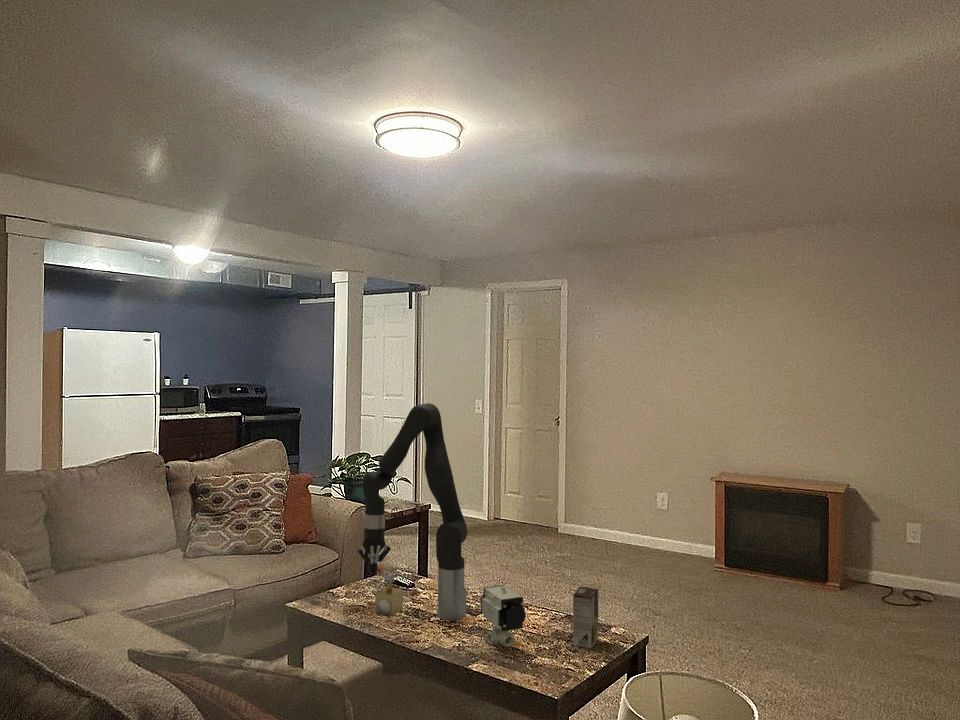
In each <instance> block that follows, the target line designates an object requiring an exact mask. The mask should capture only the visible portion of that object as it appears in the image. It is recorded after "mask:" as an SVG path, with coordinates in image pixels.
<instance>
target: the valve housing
mask: <svg viewBox="0 0 960 720" xmlns="http://www.w3.org/2000/svg"><path fill="white" fill-rule="evenodd" d="M403 602H404V590H403V589H401V588H395V587H393V582H391V583H388V582H386V586H385V587H382V589H380V590H378V591H376V592H375V606H374V607H375V609H374V610H375V613H378V614H380V615H383V616H384V615H388V616H394V615H395V614H397V613H399V612H401V610H403V608H404V607H403V606H404V605H403V604H404V603H403Z"/></svg>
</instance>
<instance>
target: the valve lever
mask: <svg viewBox="0 0 960 720" xmlns="http://www.w3.org/2000/svg"><path fill="white" fill-rule="evenodd" d="M375 574H377V575H378V576H381V577H382V578H384V582H385V583H387V582H388V583H391V582H392V583H394V582H395V573H393V572H389V571H388V570H387V568H385V567H384V566H383V565H381V564H377V572H376V573H375Z"/></svg>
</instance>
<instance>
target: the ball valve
mask: <svg viewBox="0 0 960 720" xmlns="http://www.w3.org/2000/svg"><path fill="white" fill-rule="evenodd" d="M480 613H481V614H483V618H485V619H486V620H487V621H488V622H489V623H491V624H492V625H493V626H492V628H491V630H488V631H487V634H486V639H487V642H488V644H490V645H493V646H496V645H497V646H498V645H502V646H503V647H505V648H508V647H512V646H513V645H514V642H515V637H514V634H513V633H512V632H511V631H513V630H519V629H523V628H524V623H525V620H526V610H525V608H524V597H523V596H521V595H520V594H518V593H517V592H515V591H513V590H512V589H510V588H509V587H507V586H506V585H504V584H501V585H494V586H493V585H492V586H487V587H483V594H482V596H481V597H480Z"/></svg>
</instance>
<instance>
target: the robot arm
mask: <svg viewBox="0 0 960 720" xmlns="http://www.w3.org/2000/svg"><path fill="white" fill-rule="evenodd" d="M442 424H443V423H442V417H441V412H440V410H439V408H438V407H437V406H436V405H435V404H433V403H430V402H429V403H421V404H420V403H419V404H417V405H414V406H413V407H412V408H411V409H410V411H409V413H408V414H407V416H406V418H405V419H404V423H403V424H402V426H401V428H400V429H399V432H398V433H397V435H396V436H395V438H394V440H393V441H392V443H391V444H390V446H389V447H388V448H387V450H386V451H385V453H383V455H382V456H381V457H380V459H379V461H378V469H377V470H375V471H369V472H368V473H366V474H365V475H364V477H363V478H362V483H361V484H362V491H363V497H364V500H365V508H364V509H365V511H364V513H365V515H364V520H363V521H364V522H363V542H362V543H361V546H360V547H357V548H356V552H357V553H358V555H360V557H361V558H362V559H363V561H365V562H366V563H367V564H368V572H369V573H370V574H371V575H375V574H377V573H376V572H377V565H379V564H378V563H379V562H383V561H384V559H385V558H386V556H387V555H388V554H389V552H390V551H391V550H392V548H391V546H389V545H387V544H386V541H385V531H386V517H385V512H386V510H385V509H386V505H385V504H386V501H385V498H383V497H382V496H380V492H379V491H382V490H384V489H386V488H387V487H388V486H390V483H391V482H392V480H393V477H394V475H395V473H396V471H397V470H398V468H399V467H400V466H401V465H402V464H403V462H404V461H405V459H406V457H407V455H408V453H409V450H410V447H411V446H412V443H413V442H414V440H415V439H416V438H417V437H418V436H419V435H420V434H421V433H423V436H424V440H425V456H424V473H425V476H426V481H427V486H428V488H429V490H430V492H431V494H432V495H433V497H434V499H435V501H436V502H437V504H438V505H439V509H440V513H441V517H442V524H440V525H439V527H438V528H437V530H436V533H435V554H436V560H437V617H438V618H439V619H441V620H447V621H459V620H461V619H462V618H465V616H467V587H465V564H466V563H465V558H464V557H463V556H462V544H463V543H464V542H465V541H466V539H467V536H468V527H467V524H466V521H465V518H464V515H463V512H462V509H461V507H460V503H459V499H458V494H457V489H456V485H455V479H454V475H453V471H452V466H451V464H450V459H449V455H448V451H447V450H448V449H447V447H446V442H445V438H444V432H443V425H442ZM365 552H366V553H367V556H368V557H367V556H366V554H365Z"/></svg>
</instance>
